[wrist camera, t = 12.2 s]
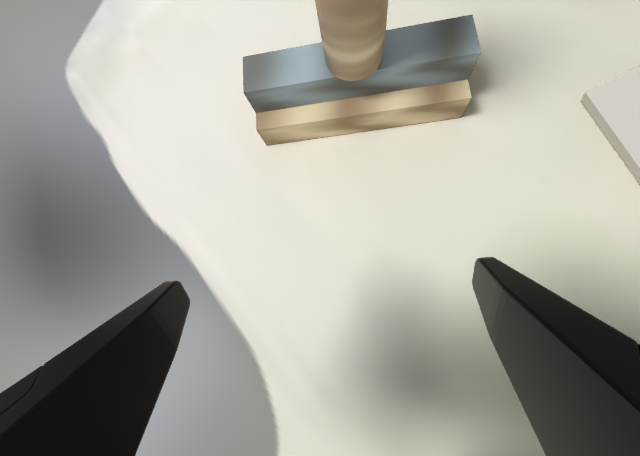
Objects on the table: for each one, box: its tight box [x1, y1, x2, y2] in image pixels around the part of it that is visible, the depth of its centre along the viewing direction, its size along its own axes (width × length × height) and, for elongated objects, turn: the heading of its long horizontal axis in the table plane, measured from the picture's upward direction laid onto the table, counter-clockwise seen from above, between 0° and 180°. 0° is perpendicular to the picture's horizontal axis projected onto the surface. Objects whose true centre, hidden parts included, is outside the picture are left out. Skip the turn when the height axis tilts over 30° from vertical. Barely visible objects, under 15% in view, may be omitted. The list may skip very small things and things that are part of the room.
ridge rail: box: [243, 15, 481, 145], centre depth 23 cm, size 16×6×5 cm, turn 95°
